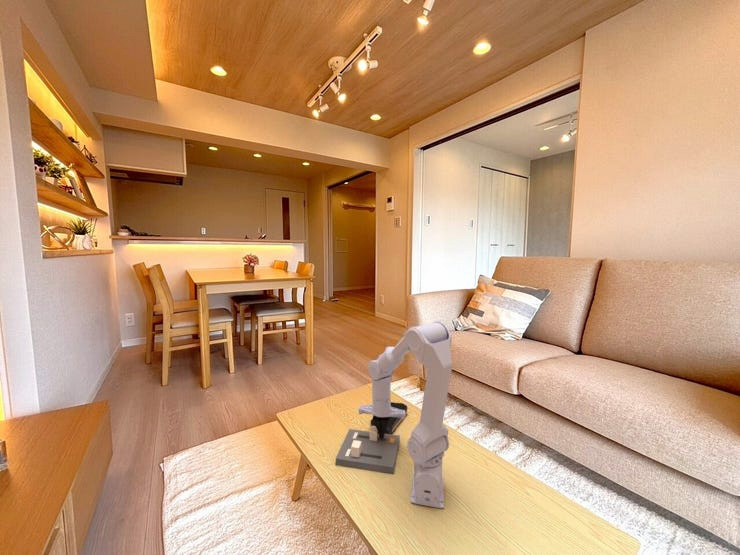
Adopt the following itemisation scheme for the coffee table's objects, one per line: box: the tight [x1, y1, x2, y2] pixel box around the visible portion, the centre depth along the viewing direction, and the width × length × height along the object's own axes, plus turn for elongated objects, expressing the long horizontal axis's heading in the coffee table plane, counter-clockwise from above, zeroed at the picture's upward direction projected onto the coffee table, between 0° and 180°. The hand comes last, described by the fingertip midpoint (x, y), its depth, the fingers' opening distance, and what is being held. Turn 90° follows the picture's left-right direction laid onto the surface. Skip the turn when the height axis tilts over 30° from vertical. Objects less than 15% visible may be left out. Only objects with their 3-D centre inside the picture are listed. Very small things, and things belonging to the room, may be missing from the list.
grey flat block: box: [335, 428, 401, 475], centre depth 91 cm, size 14×17×2 cm
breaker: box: [351, 440, 362, 457], centre depth 88 cm, size 3×2×3 cm
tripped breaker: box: [369, 425, 379, 441], centre depth 95 cm, size 3×2×3 cm
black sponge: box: [369, 401, 408, 434], centre depth 107 cm, size 16×8×4 cm, turn 150°
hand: (381, 436), depth 94 cm, fingers closed
